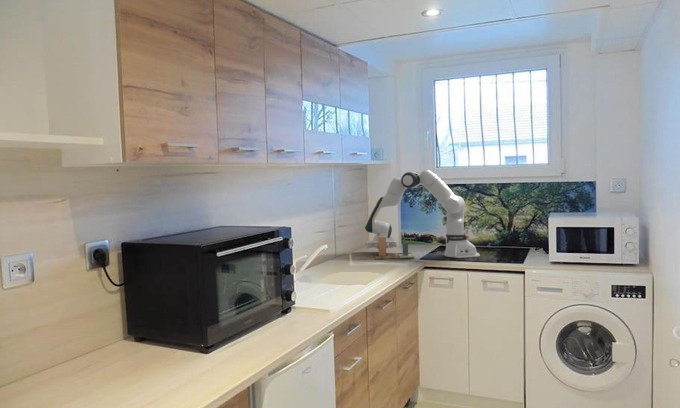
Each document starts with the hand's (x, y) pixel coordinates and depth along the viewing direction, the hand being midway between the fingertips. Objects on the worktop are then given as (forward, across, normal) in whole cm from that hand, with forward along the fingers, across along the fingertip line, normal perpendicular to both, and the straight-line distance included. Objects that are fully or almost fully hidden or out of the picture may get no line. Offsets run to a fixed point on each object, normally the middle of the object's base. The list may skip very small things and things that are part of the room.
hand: (382, 245), depth 328 cm
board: (+1, +7, +8) cm, 11 cm away
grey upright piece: (+7, +14, +6) cm, 17 cm away
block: (-1, 0, +7) cm, 7 cm away
